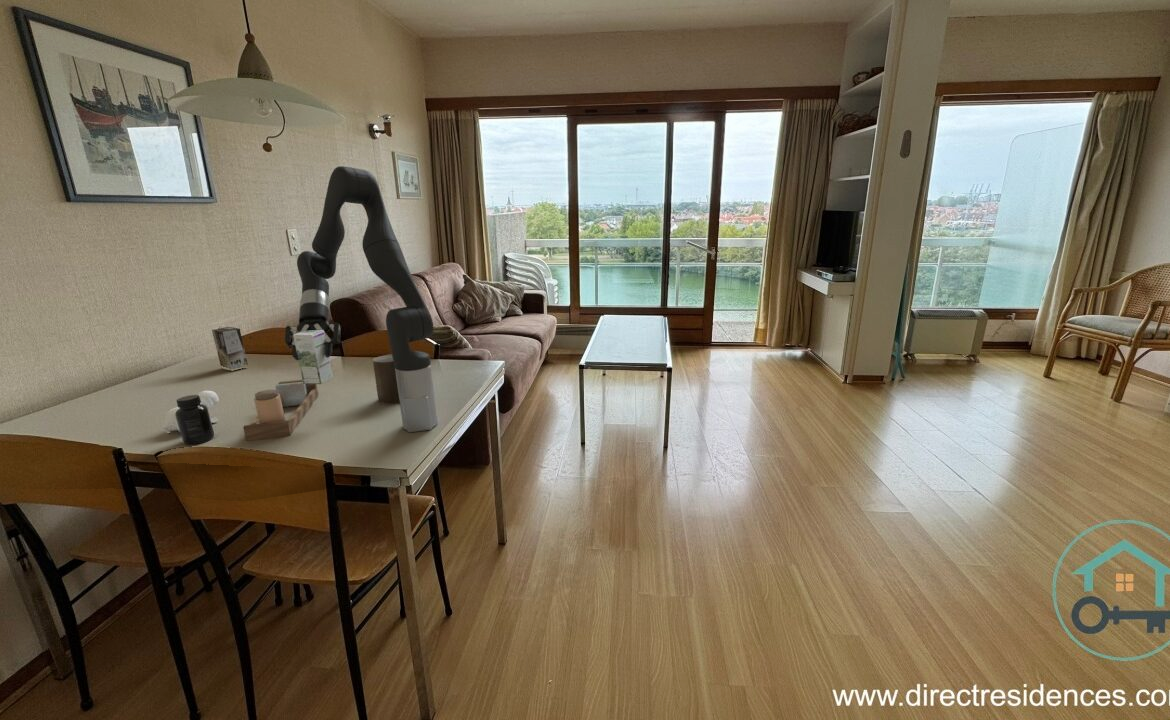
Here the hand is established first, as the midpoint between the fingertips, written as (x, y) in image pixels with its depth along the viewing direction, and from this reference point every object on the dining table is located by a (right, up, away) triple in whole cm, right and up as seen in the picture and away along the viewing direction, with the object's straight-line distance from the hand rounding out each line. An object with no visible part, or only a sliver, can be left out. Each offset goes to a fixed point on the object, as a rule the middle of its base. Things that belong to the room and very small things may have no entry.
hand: (312, 357), depth 136 cm
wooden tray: (-13, -17, +10) cm, 24 cm away
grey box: (-16, -14, +21) cm, 30 cm away
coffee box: (-64, -4, +60) cm, 88 cm away
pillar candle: (+14, -13, +22) cm, 30 cm away
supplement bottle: (-28, -22, -4) cm, 36 cm away
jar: (-10, -20, 0) cm, 23 cm away
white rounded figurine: (-36, -20, +5) cm, 41 cm away
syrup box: (0, -7, +4) cm, 8 cm away
